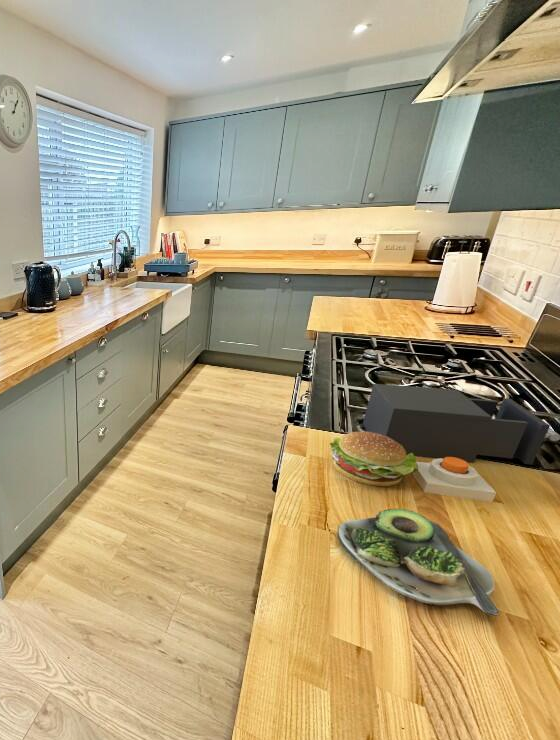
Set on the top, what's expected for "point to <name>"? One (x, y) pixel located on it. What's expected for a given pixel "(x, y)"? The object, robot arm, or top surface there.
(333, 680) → the top surface
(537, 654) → the top surface
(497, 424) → the fryer drawer
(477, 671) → the top surface
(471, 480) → the block
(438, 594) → the salad plate
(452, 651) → the top surface
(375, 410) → the dark grey box
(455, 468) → the button
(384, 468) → the food
